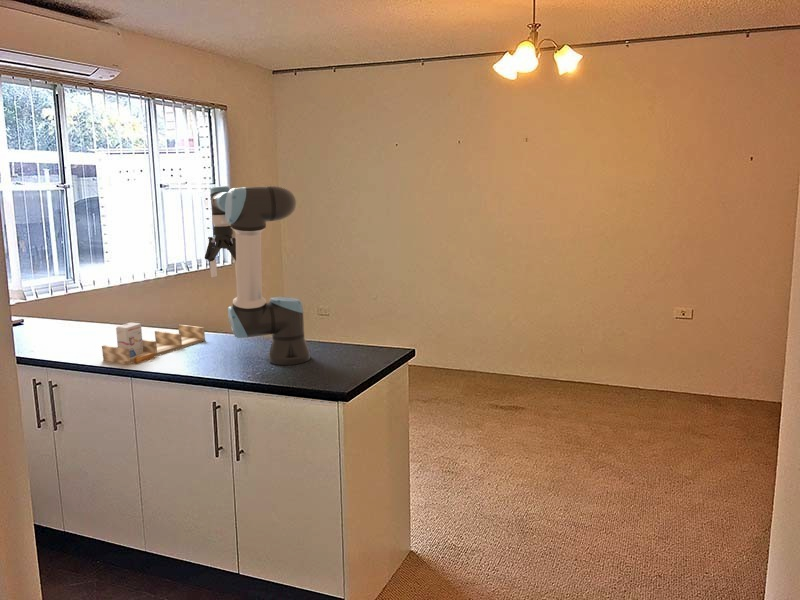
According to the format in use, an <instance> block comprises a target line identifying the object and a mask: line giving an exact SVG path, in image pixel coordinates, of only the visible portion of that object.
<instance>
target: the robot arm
mask: <svg viewBox="0 0 800 600" xmlns="http://www.w3.org/2000/svg"><path fill="white" fill-rule="evenodd" d="M209 192H210V194H209V195H210V196H209V197H210V203H211V217H212V218H211V219H212V225H213V227H212V230H213V235H214V236H209V238H208V244H207V247H206V251H205V255H204V259H205V260H207V261H208V266H209V270H210V277H211V278H215V277H218V271H217V268H218V267H217V260H216V258H217V256H218V254H219V252H220V250H221V249H225V250H227V251H229V253H230V254H231V256H232V258H233V259H234V260H235V262H234V265H235V266H234V268H235V269H234V270H235V279H236V297H234V298H233V299H232V305H231V306H230V305H229V306H227V317H228V321H229V324H230V325H229V326H230V328H231V332H232V334H233V336H234V337H236V339H245V338H246V339H249V338H253V337H254V338H255V337H261V336H269V335H272V336H271V337H272V342H271V345H270V349H269V353H268V363H271V364H273V365H278V366H279V365H280V366H292V365H300V364H302V363H306V362H308V361H309V360H311V352H310V349H309V347H308V343H307V341H306V339H305V324H304V323H305V322H304V313H305V312H304V308H303V302H302V301H301V300H300V299H298V298H294V297H289V296H288V297H287V296H274V297H273V296H272V297H270V298H269V302H267V300H266V298H265V297H264V296H263V291H262V287H263V285H262V284H263V279H262V277H263V275H262V274H263V273H262V272H263V271H262V269H263V267H262V232H263V231H264V230H265V229H267V222H276V221H281V220H283V219H287V218H288V217H290V216H291V215H292V214H293V213H294V211H295V210H296V207H297V200H296V199H297V198H296V196H295V195H294V193H293V192H292V191H290V190H289V189H288V188H285V187H282V186H242V187H233V188H230V186H227V185H226V186H225V185H223V186H212V187H210V191H209ZM233 231H234V232H235V237H233V235H234V232H233Z"/></svg>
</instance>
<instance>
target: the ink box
mask: <svg viewBox="0 0 800 600" xmlns="http://www.w3.org/2000/svg"><path fill="white" fill-rule="evenodd" d="M115 331H116V342H117V343H116V344H117V347H119V348H125V349H129V352H130V357H133V356H135V355H138V354H140V353H143V343H142V339H143V333H142V323H137V322H127V323H125V324H120V325H117V326H116V327H115Z"/></svg>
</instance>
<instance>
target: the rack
mask: <svg viewBox="0 0 800 600" xmlns="http://www.w3.org/2000/svg"><path fill="white" fill-rule="evenodd" d="M154 337H155V338H154V339H155V340H150V339H144V338H142V343H143V353H140V354H138V355H135V356H133V357H130V352H129V349H125V348H119V347H118V346H112V345H106V344H105V345H104V344H103V345H101V352H102V359H103V361H105V362H109V363H110V362H111V363H117V364H121V365H122V364H123V365H129V366H130V365H133V364H140V363H143V362H146V361H148V360H152V359H155V358H156V357H157V355H158V356H160V354H161V355H164V354H167V353H166V352H168V353H170V351H171V352H173V350H174V351H177V350H180V349H183V348H182V347H184V348H186V346H187V347H190V346H193V345H196V344H198V343H199V342H200V343H203V342H206V334H205V327H204V326H202V327H201V326H194V325H188V324H187V325H186V324H178V333H174V332H167V331H162V330H161V331H160V330H155V331H154ZM202 341H203V342H202ZM200 343H199V344H200ZM192 344H193V345H192ZM189 345H190V346H189ZM179 348H180V349H179ZM176 349H177V350H176ZM163 353H164V354H163Z"/></svg>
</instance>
